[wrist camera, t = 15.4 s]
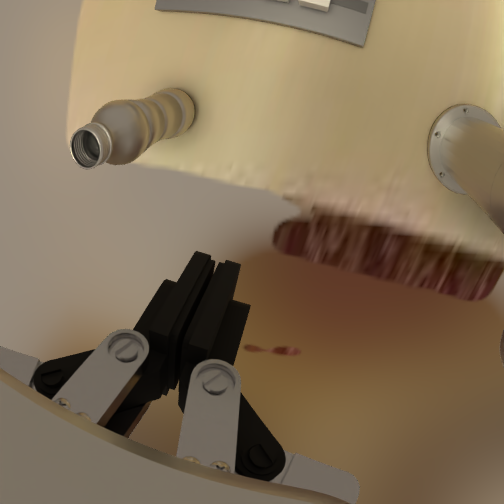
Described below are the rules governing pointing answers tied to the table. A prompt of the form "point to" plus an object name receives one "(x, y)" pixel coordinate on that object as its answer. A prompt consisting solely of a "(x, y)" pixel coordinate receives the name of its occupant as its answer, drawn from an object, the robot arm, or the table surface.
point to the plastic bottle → (131, 128)
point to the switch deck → (289, 15)
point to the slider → (316, 4)
